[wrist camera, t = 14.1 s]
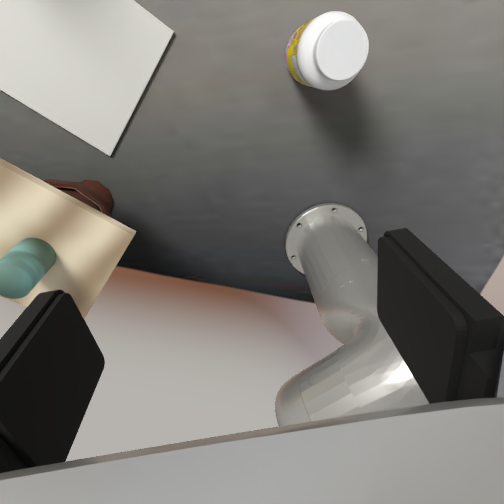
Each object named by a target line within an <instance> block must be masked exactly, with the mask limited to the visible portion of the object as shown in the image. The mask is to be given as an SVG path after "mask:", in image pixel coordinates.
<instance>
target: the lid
mask: <svg viewBox="0 0 504 504" xmlns="http://www.w3.org/2000/svg"><path fill="white" fill-rule="evenodd" d="M135 233H136V231H135V230H133V229H131V228H129V227H127V226H126V225H124V224H122V223H120V222H118V221H116V220H114V219H113V218H111V217H109V216H107V215H105V214H103V213H101V212H99V211H98V210H96V209H94V208H92V207H90V206H88V205H86V204H85V203H83V202H81V201H79V200H77V199H75V198H73V197H72V196H70V195H68V194H66V193H64V192H62V191H60V190H59V189H57V188H55V187H53V186H51V185H49V184H47V183H46V182H44V181H42V180H40V179H38V178H36V177H34V176H33V175H31V174H29V173H27V172H25V171H23V170H21V169H19V168H18V167H16V166H14V165H12V164H10V163H8V162H6V161H5V160H3V159H1V158H0V296H1V297H4V298H7V299H9V300H11V301H14V302H16V303H18V304H21V305H23V306H26V307H28V306H29V304H30V303H31V302H32V301H33V300H34V298H35V297H36V296H37V295H38V294H39V293H42V292H48V291H54V290H59V289H60V290H63V291H64V292H65V293H69V294H70V295H71V296H72V298H73V300H74V302H75V303H76V305H77V307H78V309H79V311H80V313H81V315H82V317H83V319H84V318H85V316H86V315H87V313H88V312H89V310H90V308H91V307H92V305H93V303H94V302H95V300H96V298H97V297H98V295H99V293H100V292H101V290H102V288H103V287H104V285H105V283H106V282H107V280H108V278H109V277H110V275H111V273H112V272H113V270H114V268H115V267H116V265H117V263H118V262H119V260H120V258H121V257H122V255H123V253H124V252H125V250H126V248H127V247H128V245H129V243H130V242H131V240H132V238H133V237H134V235H135Z"/></svg>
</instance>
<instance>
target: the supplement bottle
mask: <svg viewBox="0 0 504 504" xmlns="http://www.w3.org/2000/svg"><path fill="white" fill-rule="evenodd" d="M368 50H369V42H368V37H367V34H366V32H365V30H364V29H363V28H362V26H361V25H360V24H359V22H358V21H357V20H356V19H355V18H354V17H352V16H351V15H349V14H347V13H344V12H339V11H333V12H328V13H325V14H322V15H320V16H318V17H317V18H315V19H313V20H311V21H309V22H307V23H306V24H304V25H302V26H301V27H300V28H298V29H297V30H296V31H295V33H294V34H293V35H292V37H291V38H290V40H289V43H288V46H287V50H286V64H287V67H288V70H289V72H290V74H291V75H292V77H293V78H294V79H295V80H296V81H297V82H299V83H301V84H303V85H306V86H309V87H314V88H317V89H321V90H335V89H339V88H341V87H343V86H345V85H347V84H348V83H349V82H351V81H352V80H353V79H354V78H355V77H356V75H357V74H358V72H359V71H360V70H361V68H362V67H363V65H364V63H365V61H366V59H367V56H368Z"/></svg>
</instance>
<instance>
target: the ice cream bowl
mask: <svg viewBox="0 0 504 504" xmlns="http://www.w3.org/2000/svg"><path fill="white" fill-rule="evenodd" d="M43 181H44V182H46V183H47V184H49V185H51V186H53V187H55V188H57V189H59V190H60V191H62V192H64V193H66V194H68V195H70V196H72V197H73V198H75V199H77V200H79V201H81V202H83V203H85V204H86V205H88V206H90V207H92V208H94V209H96V210H98V211H99V212H101V213H103V214H105V215H107V216H109V217H111V218H112V216H111V214H110V211H111V207H112V204H113V199H112V196H111V194H110V191H109V189H107V188H106V187H105V186H103V185H102V184H101V183H99V182H98V181H89V180H84V181H82V182H81V183H78V182H69V181H59V180H50V179H49V180H43Z"/></svg>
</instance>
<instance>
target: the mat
mask: <svg viewBox="0 0 504 504" xmlns="http://www.w3.org/2000/svg"><path fill="white" fill-rule="evenodd" d="M173 33H174V31H172V30H171V29H170V28H169V27H167V26H166V25H165V24H163V23H162V22H161V21H160V20H158V19H157V18H156V17H155V16H153V15H152V14H151V13H149V12H148V11H147V10H146V9H144V8H143V7H142V6H140V5H139V4H138V3H137V2H135V1H134V0H0V90H2V91H3V92H5V93H7V94H8V95H10V96H11V97H13V98H15V99H16V100H18V101H20V102H21V103H23V104H25V105H26V106H28V107H30V108H31V109H33V110H35V111H36V112H38V113H39V114H41V115H43V116H44V117H46V118H48V119H49V120H51V121H53V122H54V123H56V124H58V125H59V126H61V127H63V128H64V129H66V130H67V131H69V132H71V133H72V134H74V135H76V136H77V137H79V138H81V139H82V140H84V141H86V142H87V143H89V144H91V145H92V146H94V147H96V148H97V149H99V150H100V151H102V152H104V153H105V154H107V155H109V156H111V154H112V152H113V150H114V148H115V146H116V144H117V142H118V141H119V139H120V137H121V135H122V133H123V131H124V129H125V127H126V125H127V123H128V121H129V119H130V117H131V115H132V113H133V111H134V109H135V107H136V105H137V104H138V102H139V100H140V98H141V96H142V94H143V92H144V90H145V88H146V86H147V84H148V82H149V80H150V78H151V76H152V74H153V72H154V70H155V68H156V67H157V65H158V63H159V61H160V59H161V57H162V55H163V53H164V51H165V49H166V47H167V45H168V43H169V41H170V39H171V37H172V35H173Z"/></svg>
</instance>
